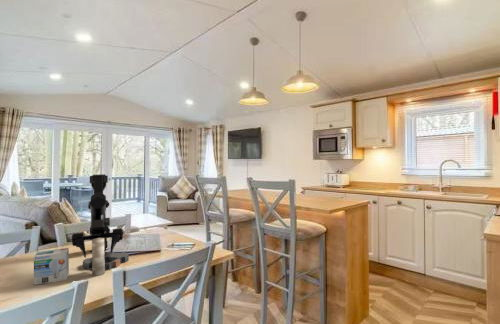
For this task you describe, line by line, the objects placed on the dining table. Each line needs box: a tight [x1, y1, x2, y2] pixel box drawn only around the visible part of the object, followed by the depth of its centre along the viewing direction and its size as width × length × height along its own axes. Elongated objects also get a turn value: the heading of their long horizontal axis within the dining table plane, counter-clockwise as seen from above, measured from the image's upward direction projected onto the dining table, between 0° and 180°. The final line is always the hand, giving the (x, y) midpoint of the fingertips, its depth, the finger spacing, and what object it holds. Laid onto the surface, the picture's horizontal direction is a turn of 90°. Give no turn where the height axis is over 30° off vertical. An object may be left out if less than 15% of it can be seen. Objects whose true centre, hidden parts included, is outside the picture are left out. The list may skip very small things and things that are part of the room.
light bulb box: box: [33, 247, 70, 286], centre depth 110 cm, size 11×7×11 cm, turn 117°
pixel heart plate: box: [82, 250, 130, 271], centre depth 127 cm, size 15×15×2 cm
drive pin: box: [91, 238, 106, 277], centre depth 115 cm, size 4×4×14 cm
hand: (98, 255), depth 114 cm, fingers open, 9 cm apart
